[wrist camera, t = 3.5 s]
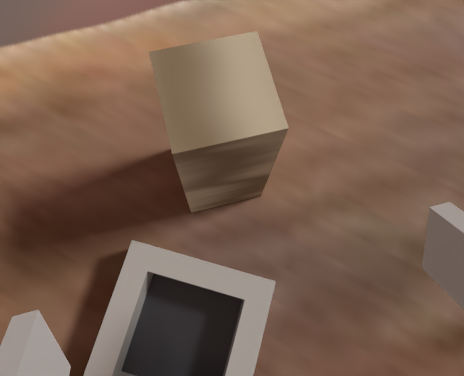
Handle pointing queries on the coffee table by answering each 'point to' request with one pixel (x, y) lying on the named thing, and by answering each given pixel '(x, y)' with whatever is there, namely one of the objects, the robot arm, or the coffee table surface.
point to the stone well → (180, 318)
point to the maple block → (220, 117)
